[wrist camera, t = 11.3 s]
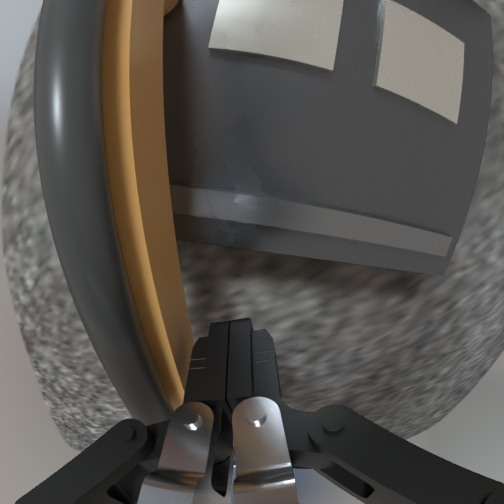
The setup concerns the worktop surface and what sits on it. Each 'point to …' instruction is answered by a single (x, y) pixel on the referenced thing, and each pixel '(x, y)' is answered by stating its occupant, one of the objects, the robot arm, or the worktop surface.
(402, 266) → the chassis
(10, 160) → the worktop surface
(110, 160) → the orange handle
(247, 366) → the robot arm
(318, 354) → the worktop surface
